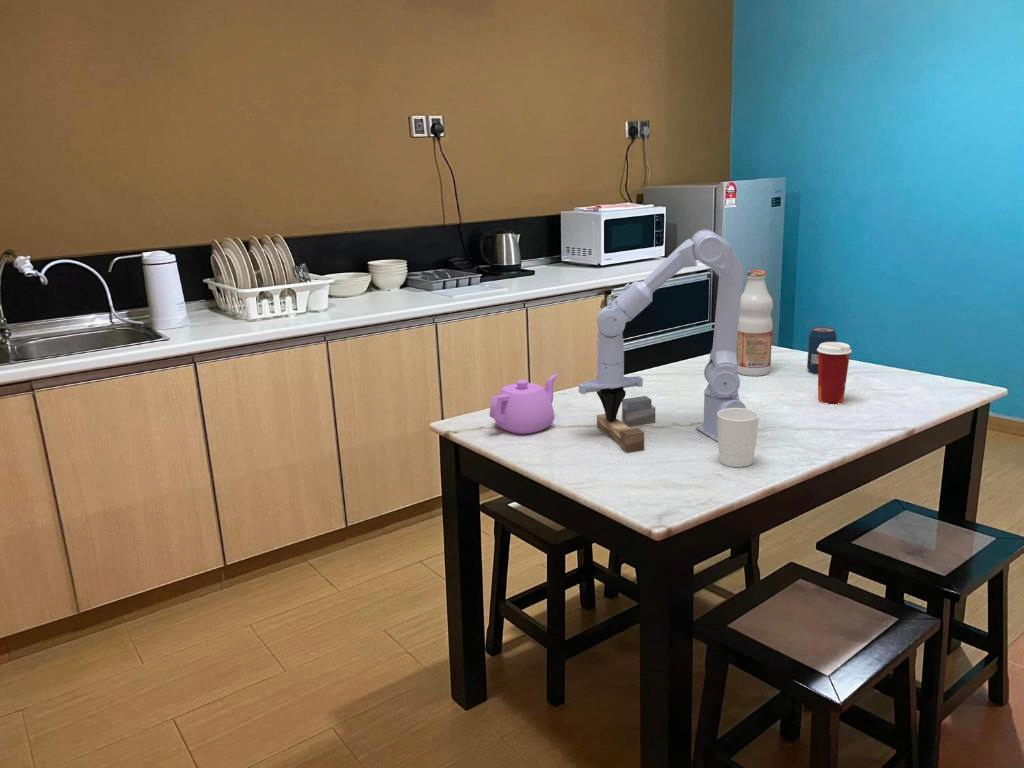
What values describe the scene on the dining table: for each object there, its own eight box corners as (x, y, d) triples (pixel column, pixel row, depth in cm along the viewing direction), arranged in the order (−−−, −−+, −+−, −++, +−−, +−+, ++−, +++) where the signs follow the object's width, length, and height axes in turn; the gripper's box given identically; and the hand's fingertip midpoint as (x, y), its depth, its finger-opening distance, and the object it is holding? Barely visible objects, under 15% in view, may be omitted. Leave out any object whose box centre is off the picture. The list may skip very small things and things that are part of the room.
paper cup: (854, 403, 189) (859, 346, 185) (829, 408, 186) (833, 350, 182) (830, 394, 196) (834, 339, 192) (806, 399, 193) (809, 343, 189)
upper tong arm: (635, 438, 168) (635, 431, 168) (622, 440, 168) (622, 433, 167) (609, 419, 181) (609, 413, 181) (597, 421, 181) (596, 414, 180)
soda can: (815, 367, 220) (818, 325, 216) (839, 371, 215) (842, 328, 211) (801, 372, 216) (804, 329, 212) (825, 377, 210) (828, 333, 207)
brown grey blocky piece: (686, 443, 169) (687, 425, 168) (626, 452, 165) (626, 434, 164) (649, 418, 185) (649, 402, 184) (594, 426, 181) (593, 410, 180)
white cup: (749, 452, 162) (751, 406, 159) (762, 467, 154) (764, 419, 152) (711, 455, 162) (712, 408, 159) (722, 469, 154) (723, 421, 151)
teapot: (577, 422, 185) (576, 376, 182) (510, 443, 174) (508, 395, 171) (540, 409, 196) (538, 366, 192) (475, 429, 184) (472, 383, 181)
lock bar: (651, 407, 181) (651, 399, 180) (627, 411, 179) (627, 402, 179) (645, 404, 184) (645, 395, 183) (622, 407, 182) (621, 399, 182)
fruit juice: (727, 371, 220) (730, 271, 212) (751, 365, 224) (755, 267, 216) (753, 378, 212) (758, 275, 204) (777, 372, 217) (782, 270, 209)
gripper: (633, 353, 178) (632, 411, 182) (573, 361, 174) (574, 419, 178) (647, 361, 171) (646, 420, 175) (585, 368, 167) (585, 428, 171)
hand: (610, 420), depth 176 cm, fingers closed, pressing on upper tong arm
